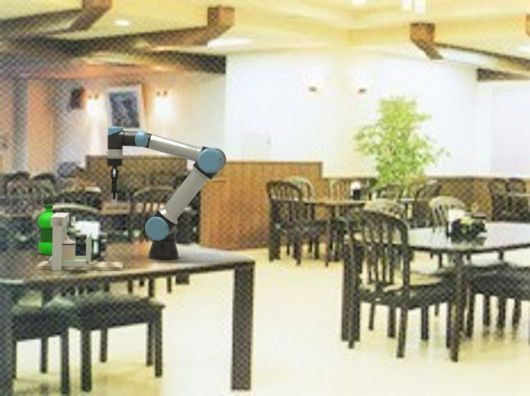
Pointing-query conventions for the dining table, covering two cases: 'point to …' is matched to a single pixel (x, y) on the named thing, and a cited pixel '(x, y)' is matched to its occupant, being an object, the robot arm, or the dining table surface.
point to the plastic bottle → (46, 231)
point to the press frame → (58, 238)
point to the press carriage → (78, 259)
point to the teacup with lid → (68, 249)
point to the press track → (91, 266)
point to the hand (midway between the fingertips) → (114, 205)
